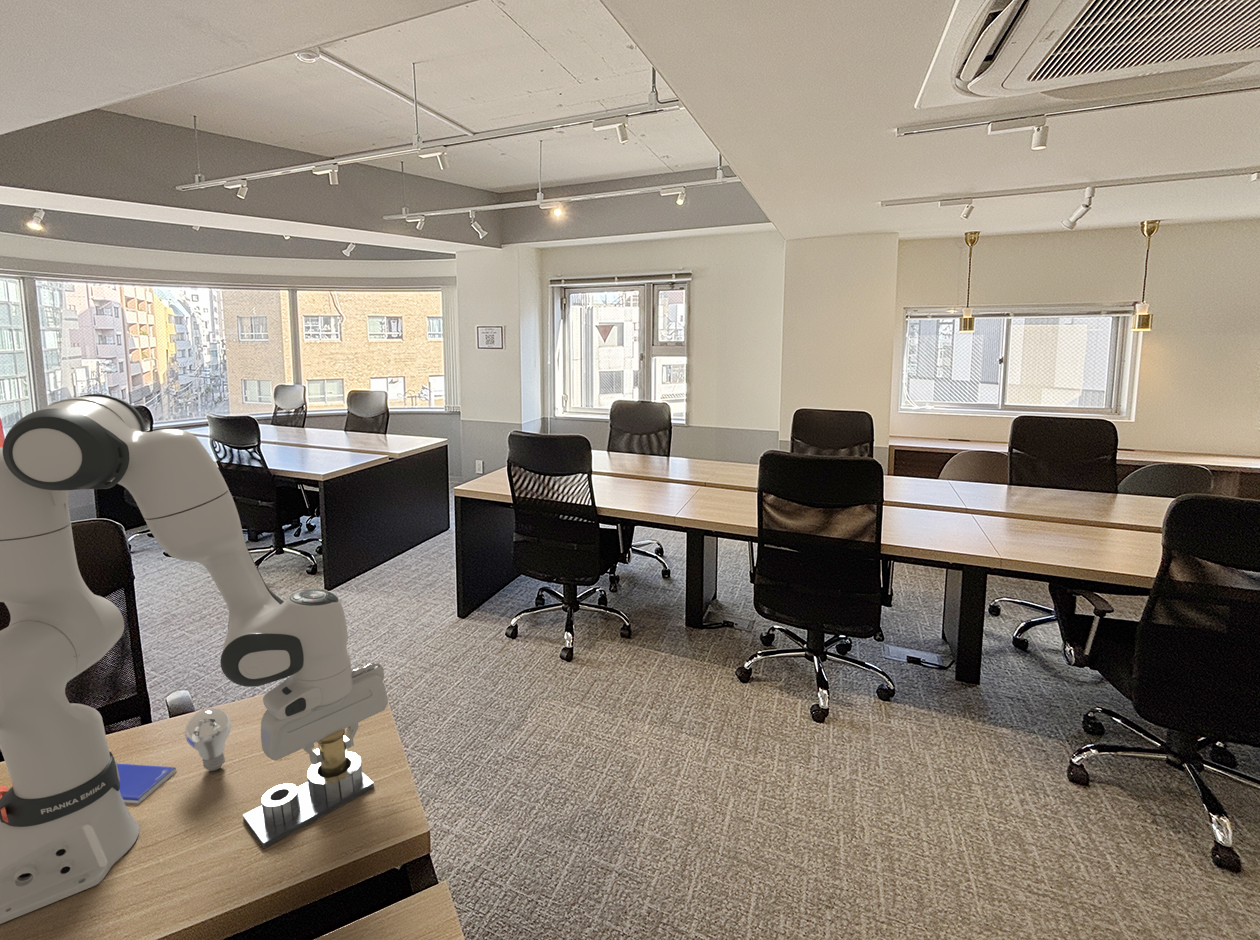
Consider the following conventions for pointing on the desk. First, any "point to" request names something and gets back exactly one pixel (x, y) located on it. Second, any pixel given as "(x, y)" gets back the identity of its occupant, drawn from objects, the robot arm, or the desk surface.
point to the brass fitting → (333, 754)
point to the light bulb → (209, 736)
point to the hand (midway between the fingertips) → (332, 754)
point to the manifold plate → (305, 801)
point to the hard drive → (141, 780)
